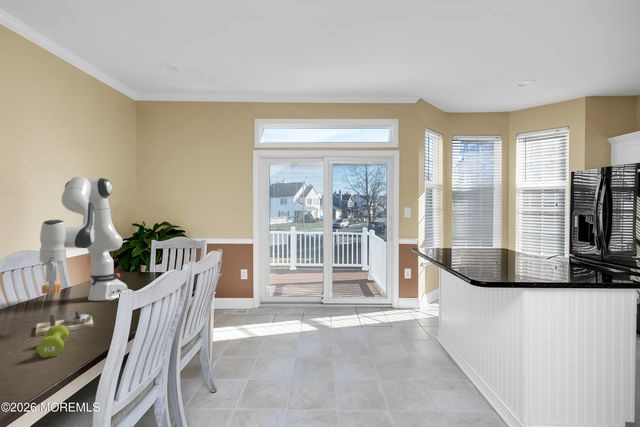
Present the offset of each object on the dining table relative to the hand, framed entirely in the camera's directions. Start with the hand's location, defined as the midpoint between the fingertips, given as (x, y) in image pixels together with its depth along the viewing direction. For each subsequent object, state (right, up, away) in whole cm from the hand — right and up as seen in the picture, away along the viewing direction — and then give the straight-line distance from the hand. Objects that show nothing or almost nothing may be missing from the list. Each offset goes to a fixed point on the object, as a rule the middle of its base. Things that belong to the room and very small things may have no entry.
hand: (51, 288), depth 149 cm
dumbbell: (+17, -19, -21) cm, 33 cm away
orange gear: (0, -2, 0) cm, 2 cm away
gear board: (+4, -18, +3) cm, 19 cm away
